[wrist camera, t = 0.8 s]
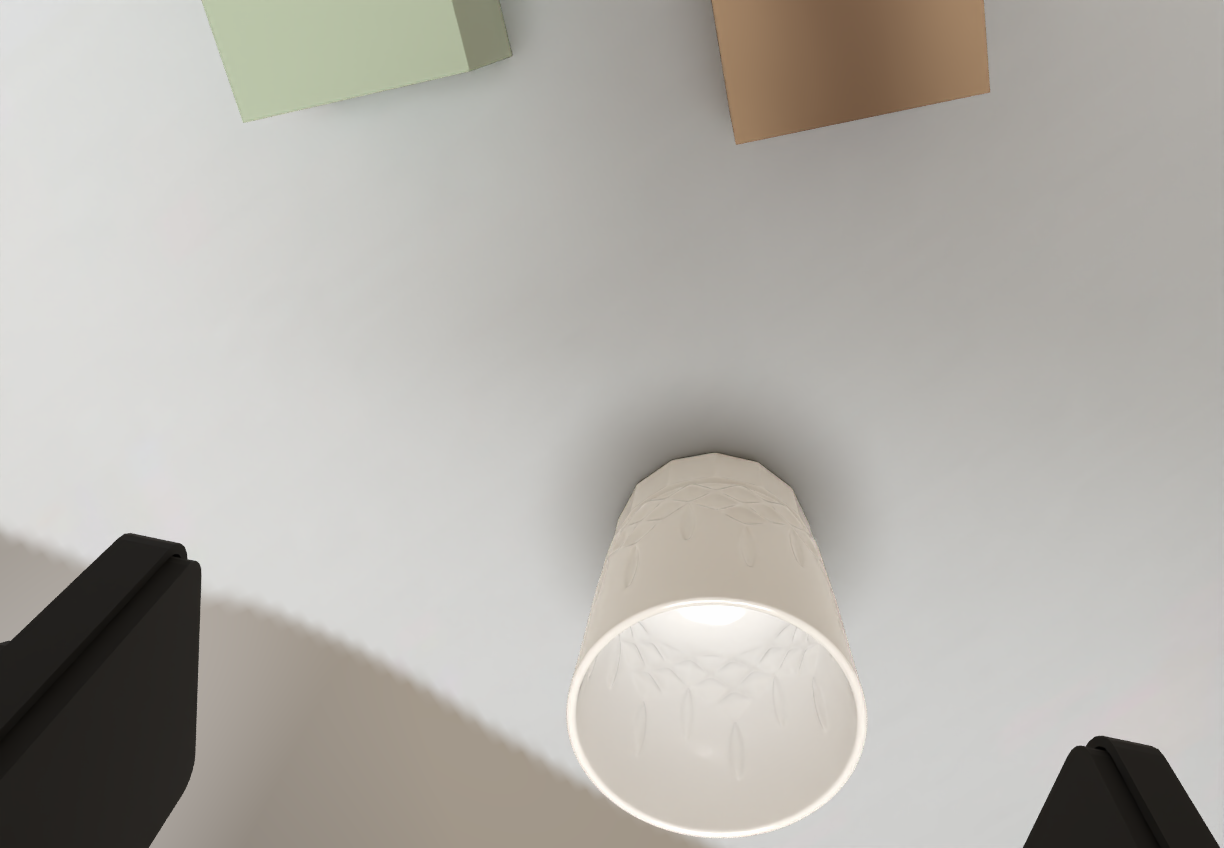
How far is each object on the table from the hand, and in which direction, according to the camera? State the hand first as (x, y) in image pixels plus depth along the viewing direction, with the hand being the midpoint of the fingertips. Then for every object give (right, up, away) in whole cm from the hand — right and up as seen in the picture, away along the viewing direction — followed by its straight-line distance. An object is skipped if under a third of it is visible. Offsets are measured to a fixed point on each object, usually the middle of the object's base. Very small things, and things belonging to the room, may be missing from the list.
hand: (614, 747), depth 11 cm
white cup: (+4, 0, +25) cm, 26 cm away
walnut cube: (+6, +16, +18) cm, 25 cm away
